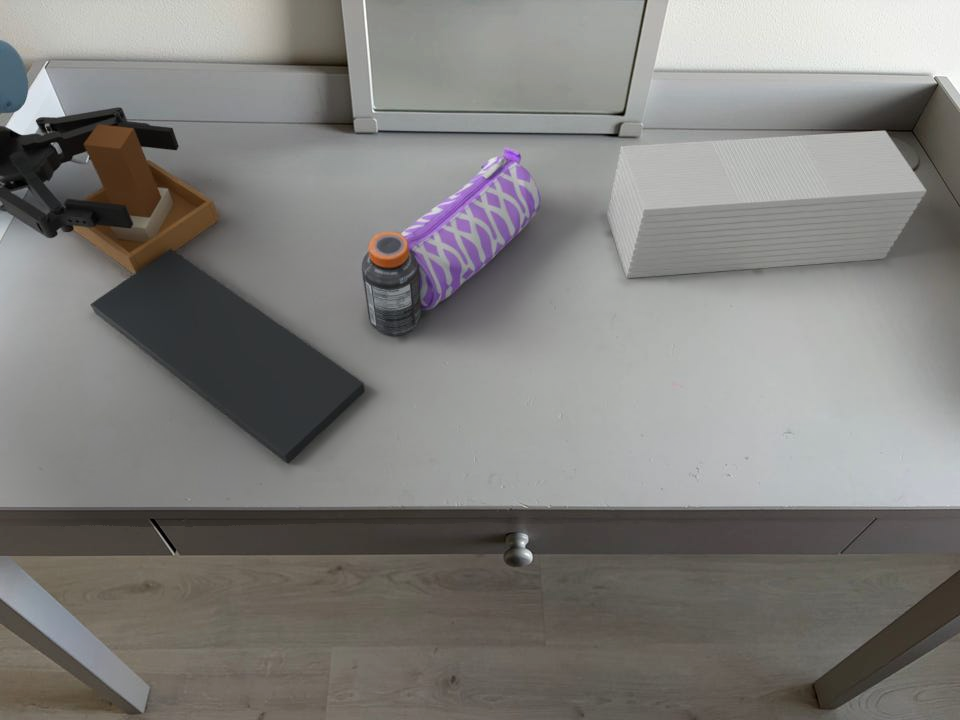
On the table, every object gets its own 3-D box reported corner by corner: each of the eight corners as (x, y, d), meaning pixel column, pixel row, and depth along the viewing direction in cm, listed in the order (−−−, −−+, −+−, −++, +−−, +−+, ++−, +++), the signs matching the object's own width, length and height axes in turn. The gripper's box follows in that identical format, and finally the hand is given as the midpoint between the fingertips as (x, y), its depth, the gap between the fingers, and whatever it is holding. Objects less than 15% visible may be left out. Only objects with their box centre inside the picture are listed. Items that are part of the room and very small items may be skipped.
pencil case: (484, 192, 100) (487, 130, 92) (545, 222, 97) (553, 160, 89) (374, 295, 89) (366, 234, 81) (439, 332, 86) (438, 273, 78)
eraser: (151, 243, 92) (114, 158, 82) (116, 239, 93) (74, 154, 83) (174, 203, 96) (141, 118, 86) (140, 200, 97) (103, 114, 87)
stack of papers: (848, 199, 101) (885, 130, 92) (883, 259, 94) (926, 190, 86) (606, 216, 98) (621, 145, 89) (626, 278, 91) (643, 209, 83)
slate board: (287, 464, 76) (284, 456, 74) (95, 313, 86) (89, 304, 85) (365, 391, 81) (363, 382, 80) (174, 258, 92) (170, 248, 90)
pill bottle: (389, 289, 90) (382, 215, 81) (432, 311, 88) (430, 237, 79) (357, 322, 86) (346, 249, 77) (401, 345, 85) (395, 273, 76)
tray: (137, 276, 90) (128, 258, 87) (74, 230, 94) (63, 210, 92) (219, 220, 96) (213, 201, 93) (156, 178, 100) (148, 159, 98)
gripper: (40, 118, 100) (199, 135, 99) (-68, 256, 85) (118, 278, 84) (13, 66, 94) (183, 83, 93) (-108, 204, 79) (92, 227, 78)
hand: (152, 176), depth 88 cm, fingers open, 13 cm apart
